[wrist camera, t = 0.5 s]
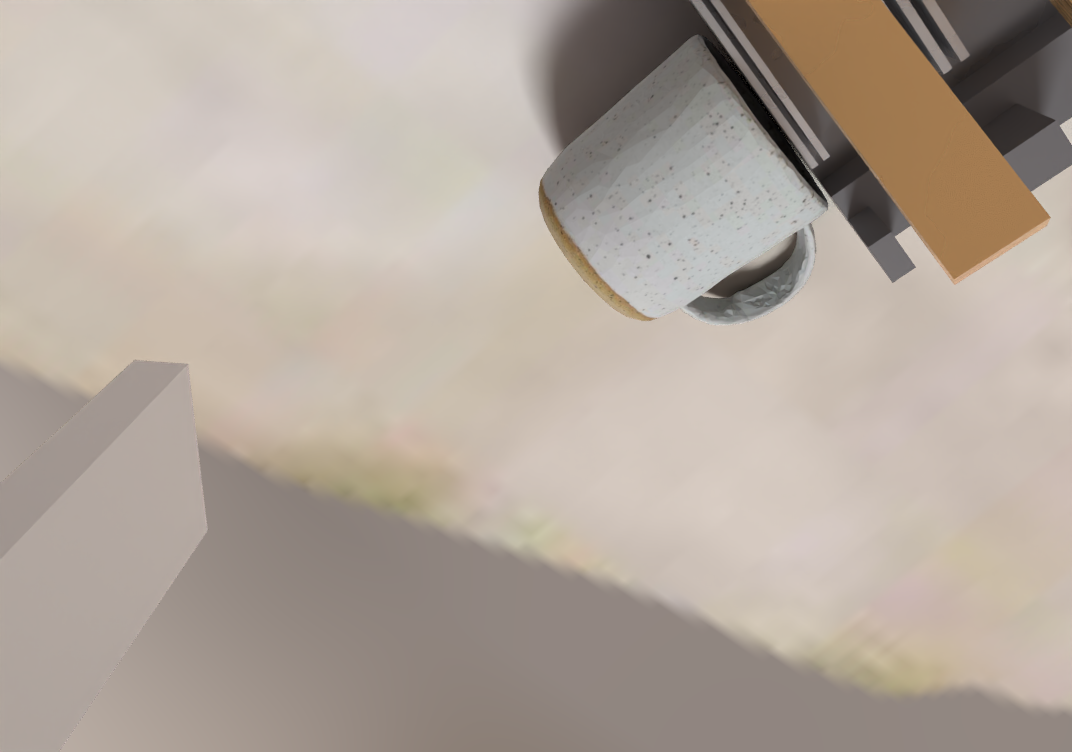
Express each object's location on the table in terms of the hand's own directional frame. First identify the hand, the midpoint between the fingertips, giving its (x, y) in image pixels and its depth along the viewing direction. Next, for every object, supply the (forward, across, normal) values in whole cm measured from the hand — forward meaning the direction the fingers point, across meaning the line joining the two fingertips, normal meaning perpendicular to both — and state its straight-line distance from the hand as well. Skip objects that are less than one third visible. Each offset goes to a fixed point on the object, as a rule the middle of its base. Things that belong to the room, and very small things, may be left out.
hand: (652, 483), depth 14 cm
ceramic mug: (+28, +3, -3) cm, 28 cm away
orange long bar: (+17, +3, +6) cm, 18 cm away
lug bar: (+23, +11, +1) cm, 26 cm away
